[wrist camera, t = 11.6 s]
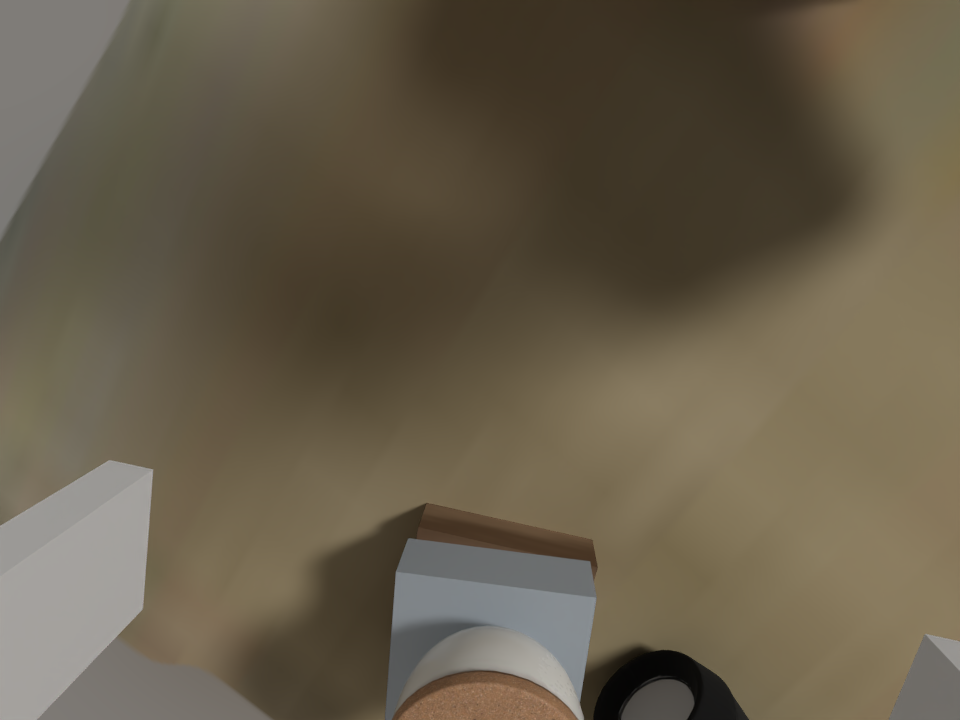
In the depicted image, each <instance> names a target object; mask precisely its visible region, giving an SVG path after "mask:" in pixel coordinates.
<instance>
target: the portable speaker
mask: <svg viewBox="0 0 960 720" xmlns="http://www.w3.org/2000/svg"><path fill="white" fill-rule="evenodd" d="M593 720H749V719H748V718H747V716H746V715H745V713H744V712H743V710H742V709H741V707H740V706H739V704H738V703H737V701H736V700H735V698H734V697H733V695H732V694H731V692H730V689H729V688H728V686H727V685H726V684H725V682H724V681H723V680H722V679H721V678H720V677H719V676H717V675H716V674H715V673H713V672H712V671H710V670H709V669H707V668H706V667H704V666H703V665H701V664H699V663H698V662H696V661H695V660H693V659H692V658H690V657H689V656H687V655H685V654H682V653H680V652H677V651H671V650H660V651H654V652H649V653H646V654H643V655H641V656H639V657H637V658H635V659H633V660H631V661H630V662H628V663H627V664H625V665H624V666H623V667H621V668H620V669H619V670H618V671H617V672H616V673H615V674H614V675H613V676H612V677H611V678H610V679H609V681H608V682H607V683H606V685H605V686H604V688H603V689H602V691H601V693H600V695H599V697H598V700H597V703H596V706H595V711H594V719H593Z"/></svg>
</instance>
